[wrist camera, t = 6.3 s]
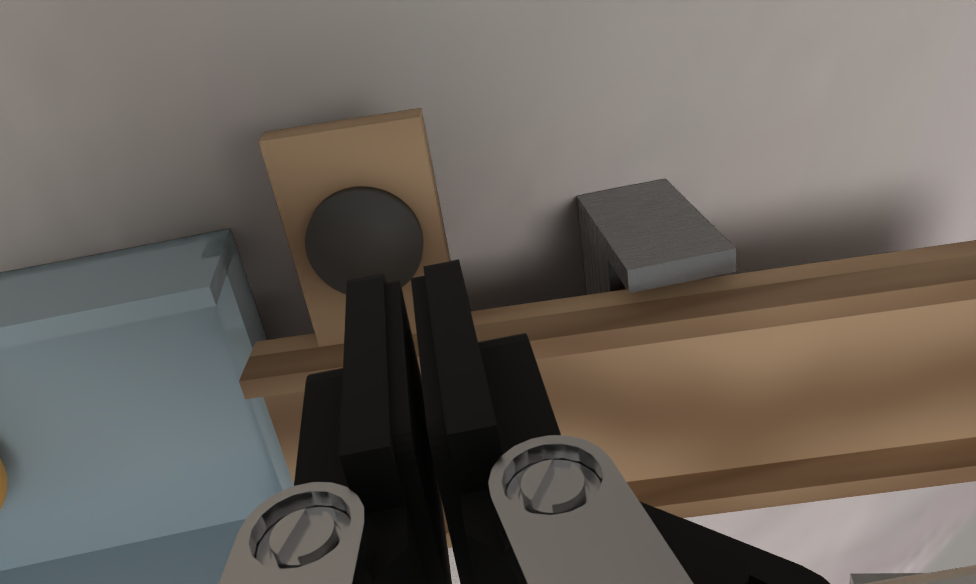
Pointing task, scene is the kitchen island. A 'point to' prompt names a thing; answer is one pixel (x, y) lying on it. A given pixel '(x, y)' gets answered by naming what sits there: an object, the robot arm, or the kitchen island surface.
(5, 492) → the ball
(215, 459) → the dish
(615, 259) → the grey arch block
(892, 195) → the kitchen island surface
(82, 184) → the kitchen island surface
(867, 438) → the lever
